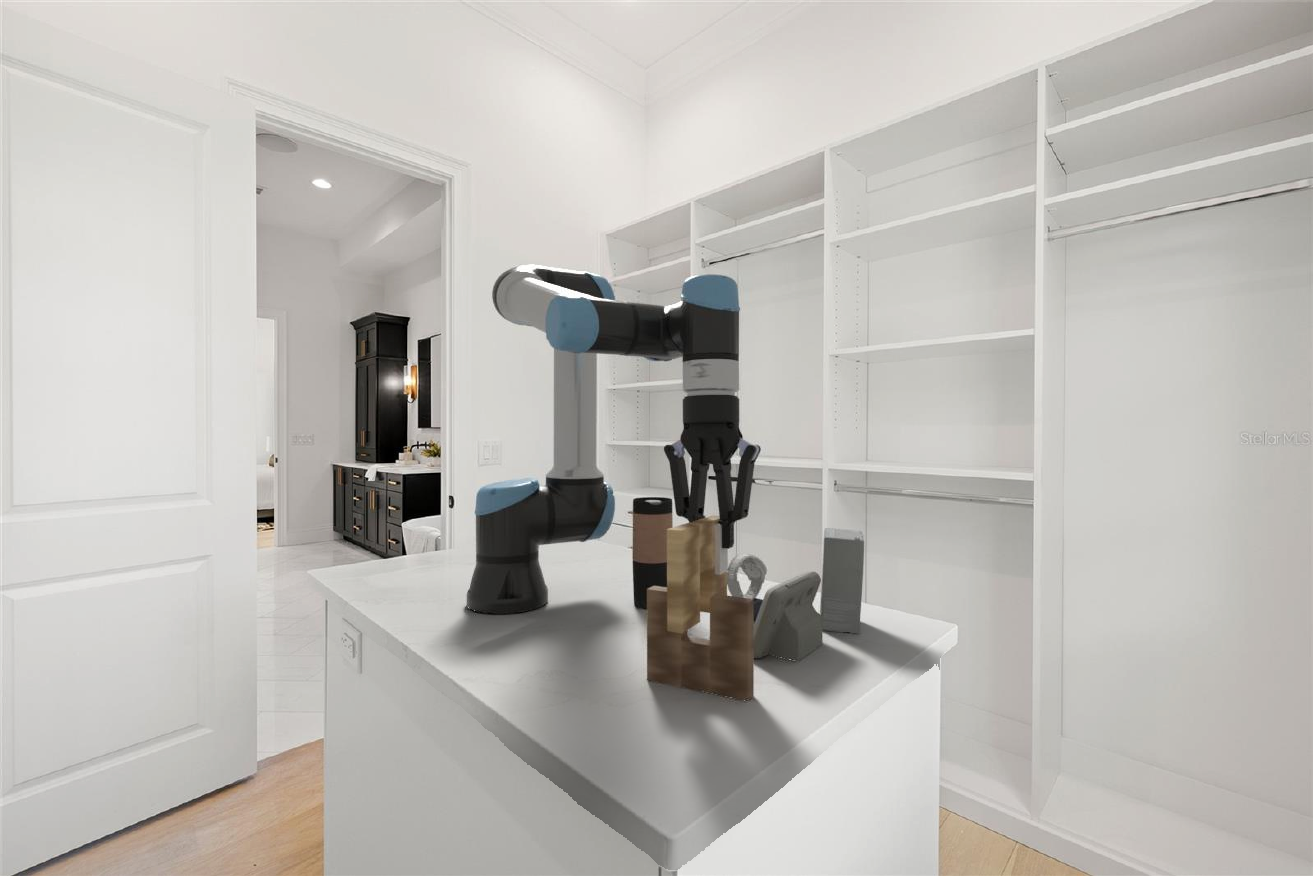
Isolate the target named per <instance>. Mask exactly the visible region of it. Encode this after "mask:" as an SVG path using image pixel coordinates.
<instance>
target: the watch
mask: <svg viewBox="0 0 1313 876" xmlns="http://www.w3.org/2000/svg"><path fill="white" fill-rule="evenodd" d="M740 568H741V570H742V571H743V572H744V574H745V576H747V579H748V580H749V581H750V585H749V587H748V589H747V591H746V592H745V593H744V592H743V591H742V589H741V585H740V581H738V572H739V569H740ZM767 571H768V569H767V566H766V565H765V563H764V562H763V560H761V559H760V558H759V557H758V556H756V555H753V554H743V553H740V554H737V555H734V557H732V559H731V560H730V562H729V563H728V571H727V590H728V591H729V594H730V596H735V597H742V598H750V599H754V623H755V621H756V618H757V615H758V613H759V610H760V607H761V604H762V601H763V599H761V598H757V596H758V595H759V593H760V592H761V590H762V587H763V584H764V583H765V579H766V575H767Z"/></svg>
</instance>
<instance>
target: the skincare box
mask: <svg viewBox="0 0 1313 876" xmlns="http://www.w3.org/2000/svg"><path fill="white" fill-rule="evenodd" d="M864 537H865V535H864V534H863V532H862V530H852V529H851V530H850V529H843V528H842V529H841V528H831V527H830V528H829V527H828V528H824V532H823V546H822V547H823V553H822V568H821V569H822V571H821V572H822V573H821V584H820V585H821V588H820V589H821V591H820V602H819V603H820V605H819V614H820V615H821V617H822V631H826V632H837V633H843V632H850V633H849V634H853V633H857V634H856V635H859V634H860V633H861V632H860V631H861V629H860V628H861V612H862V597H863V583H864V582H863V581H864V580H863V579H864V564H865V541H864Z"/></svg>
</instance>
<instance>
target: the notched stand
mask: <svg viewBox="0 0 1313 876" xmlns="http://www.w3.org/2000/svg"><path fill="white" fill-rule="evenodd" d="M754 624H755V622H754V599H750V598H742V597H735V596H732V595H728V594H727V595H720V594H715V595H714V596H712V597H710V613H709V638H708V639H707V638H702V637H697V636H691V635H689V633H688V630H687V631H686V632H684V633H677V632H670V631H667V587H660V586H652V587H650V588H648V589H647V610H646V680H647V681H651V682H656V683H660V684H665V685H669V686H674V687H678V688H683V689H688V690H692V691H696V692H701V691H704V692H703V693H705V692H708V693H707V694H710V693H713V694H712V695H714V694H717V695H716V696H719V695H721V696H720V697H724V696H727V697H726V698H728V697H732V698H731V699H733V698H735V699H734V700H737V699H739V700H738V701H742V700H745V701H744V702H746V701H748V702H749V701H750V700H751V699H752V698H753V697H754V693H755V692H754V691H755V689H754V688H755V687H754V682H755V681H754V680H755V679H754V678H755V677H754V676H755V675H754V669H755V668H754V663H755V661H754V660H755V658H754ZM752 696H753V697H752ZM751 697H752V698H751Z"/></svg>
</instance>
